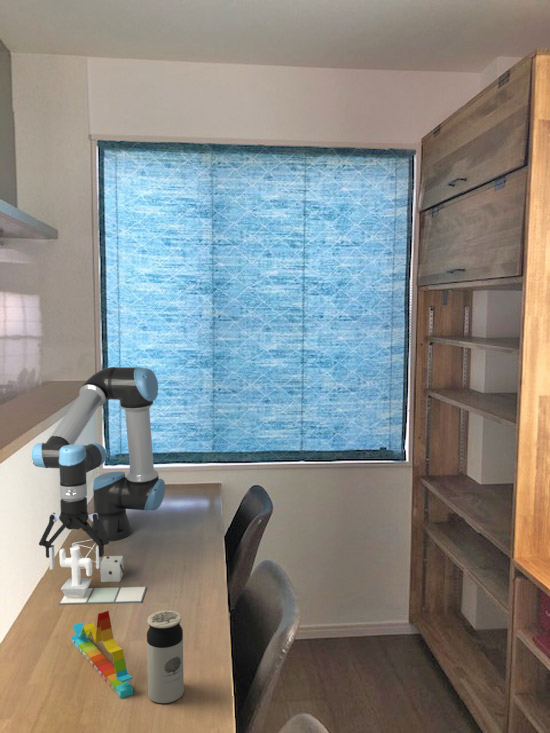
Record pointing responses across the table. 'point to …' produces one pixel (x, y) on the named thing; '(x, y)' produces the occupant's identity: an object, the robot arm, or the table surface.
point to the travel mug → (165, 657)
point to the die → (111, 568)
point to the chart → (112, 675)
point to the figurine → (75, 573)
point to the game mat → (108, 596)
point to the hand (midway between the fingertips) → (75, 567)
